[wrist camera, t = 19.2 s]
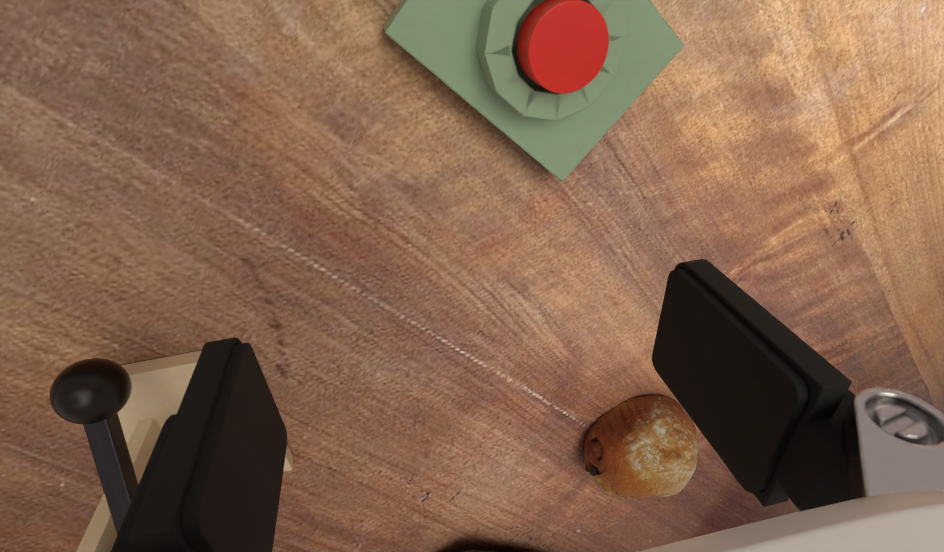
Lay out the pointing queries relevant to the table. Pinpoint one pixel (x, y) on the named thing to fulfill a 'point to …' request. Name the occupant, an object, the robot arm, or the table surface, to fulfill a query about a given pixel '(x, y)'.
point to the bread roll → (642, 448)
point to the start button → (563, 44)
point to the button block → (511, 91)
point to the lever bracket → (146, 428)
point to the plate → (477, 551)
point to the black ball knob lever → (100, 424)
